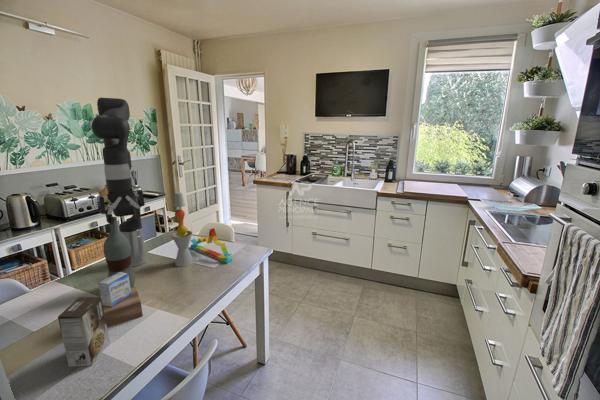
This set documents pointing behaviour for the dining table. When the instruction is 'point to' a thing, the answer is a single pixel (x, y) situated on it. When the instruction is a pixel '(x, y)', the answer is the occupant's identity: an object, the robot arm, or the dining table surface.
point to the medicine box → (115, 289)
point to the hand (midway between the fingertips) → (124, 221)
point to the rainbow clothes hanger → (209, 252)
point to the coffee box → (84, 331)
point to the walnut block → (124, 310)
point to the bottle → (118, 253)
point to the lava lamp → (181, 235)
